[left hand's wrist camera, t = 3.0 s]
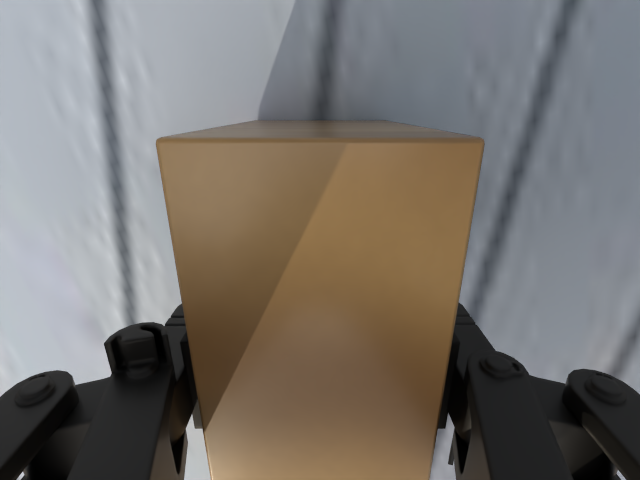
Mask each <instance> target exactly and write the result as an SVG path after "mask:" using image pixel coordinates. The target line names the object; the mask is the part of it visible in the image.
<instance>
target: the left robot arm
mask: <svg viewBox="0 0 640 480" xmlns="http://www.w3.org/2000/svg"><path fill="white" fill-rule="evenodd" d="M104 346H105V350H106V353H107V357H108V361H109V364H110V368H111V372H112V374H111V376H110V377H108V378H105V379H101V380H96V381H92V382H87V383H83V384H78V385H75V383H74V380H73V377H72V376H71V375H70V374H69V373H68V372H65V371H59V370H56V371H49V372H44V373H40V374H37V375H34V376H31V377H29V378H27V379H25V380H23V381H21V382H19V383H17V384H16V385H15V386H13V387H12V388H11V389H9V390H8V391H7V392H5V393H4V394H3V395H2V396H1V397H0V480H16V479H17V478H18V477H19V475H20V474H21V473H22V472H24V474H25V475H24V476H23V478H22V479H21V480H184V474H185V465H186V455H187V446H188V440H187V434H186V427H187V424H188V422H189V419H190V417H191V415H193V420H194V426H195V429H200V428H202V421H201V415H200V409H199V403H198V397H197V391H196V385H195V379H194V373H193V367H192V361H191V354H190V348H189V342H188V336H187V330H186V324H185V318H184V312H183V306H182V304H181V305H179V306H178V307H177V308H176V310H175V311H174V312H173V314H172V315H171V318H169V319H168V321H167V322H166V324H165V326H163V325H162V324H158V323H154V322H148V323H139V324H135V325H130V326H128V327H126V328H123V329H121V330H119V331H117V332H116V333H114V334H113V335H111V336H110V337H109V338H108V339H107V341H106V342H105V343H104ZM448 412H449V415H450V417H451V420H452V422H453V424H454V427H455V428H454V434H453V439H452V444H451V450H450V455H449V461H448V464H450V465H453V461H454V464H455V473H456V480H621V479H620V478H619V477H618V475H617V474H616V473H617V471H618V470H619V471H620V472H621V474H622V475H623V476H624V477H625V479H626V480H640V394H638V393H637V392H636V391H635V390H634V389H632V388H631V387H630V386H628V385H627V384H626V383H624V382H622V381H621V380H619V379H617V378H615V377H613V376H611V375H608V374H606V373H602V372H599V371H595V370H588V369H579V370H574V371H572V372H571V373H570V374H569V375H568V378H567V381H566V384H564V383H560V382H555V381H551V380H546V379H541V378H537V377H534V376H530V375H529V373H528V372H527V370H526V369H525V368H524V366H523V365H522V364H521V363H519V362H518V361H517V360H516V359H514V358H513V357H510V356H508V355H506V354H504V353H501V352H497V351H495V349H494V348H493V347H492V345H491V344H490V342H489V341H488V340H487V338H486V337H485V336H484V334H483V333H482V331H481V330H480V329H479V327H478V326H477V325H475V322H474V320H473V319H472V318H471V317H470V316H469V313H468V312H467V311H466V309H465V308H464V307H463V305H461V304H460V303H458V308H457V314H456V320H455V326H454V332H453V338H452V344H451V350H450V357H449V363H448V369H447V375H446V381H445V387H444V393H443V399H442V405H441V411H440V417H439V423H438V429H445V427H446V421H447V416H448Z"/></svg>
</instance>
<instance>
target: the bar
mask: <svg viewBox="0 0 640 480" xmlns="http://www.w3.org/2000/svg"><path fill="white" fill-rule="evenodd" d="M156 147H157V153H158V160H159V166H160V172H161V178H162V184H163V190H164V196H165V202H166V208H167V214H168V220H169V227H170V233H171V239H172V245H173V251H174V257H175V263H176V269H177V275H178V281H179V287H180V294H181V300H182V306H183V312H184V318H185V324H186V330H187V336H188V342H189V348H190V354H191V361H192V367H193V373H194V379H195V385H196V391H197V397H198V403H199V409H200V415H201V421H202V428H203V434H204V440H205V446H206V452H207V458H208V464H209V470H210V476H211V480H429V478H430V472H431V466H432V460H433V454H434V448H435V442H436V435H437V429H438V423H439V417H440V411H441V405H442V399H443V393H444V387H445V381H446V375H447V369H448V363H449V357H450V350H451V344H452V338H453V332H454V326H455V320H456V314H457V308H458V302H459V296H460V290H461V284H462V278H463V272H464V266H465V259H466V253H467V247H468V241H469V235H470V229H471V223H472V217H473V211H474V205H475V199H476V193H477V187H478V181H479V174H480V168H481V162H482V156H483V150H484V139H482V138H480V137H475V136H470V135H464V134H458V133H453V132H447V131H441V130H436V129H430V128H424V127H419V126H413V125H408V124H402V123H396V122H391V121H385V120H255V121H249V122H244V123H238V124H233V125H227V126H221V127H216V128H210V129H205V130H199V131H193V132H188V133H182V134H176V135H171V136H165V137H161V138H158V139H157V140H156Z"/></svg>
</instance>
